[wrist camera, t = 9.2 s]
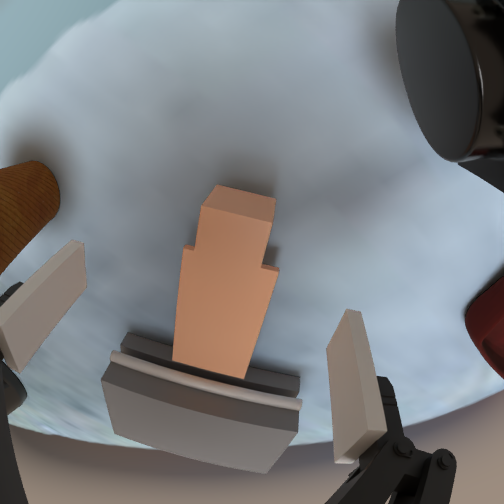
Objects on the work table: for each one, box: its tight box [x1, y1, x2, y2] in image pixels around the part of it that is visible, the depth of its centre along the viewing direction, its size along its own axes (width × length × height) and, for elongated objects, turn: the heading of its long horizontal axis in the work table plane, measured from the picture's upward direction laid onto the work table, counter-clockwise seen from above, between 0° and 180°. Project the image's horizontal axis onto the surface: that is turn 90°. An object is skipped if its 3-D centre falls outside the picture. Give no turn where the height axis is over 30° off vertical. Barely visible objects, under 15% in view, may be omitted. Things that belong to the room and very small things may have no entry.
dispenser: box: [101, 333, 302, 474], centre depth 32 cm, size 13×19×7 cm
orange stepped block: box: [172, 185, 279, 379], centre depth 23 cm, size 18×7×4 cm, turn 168°
